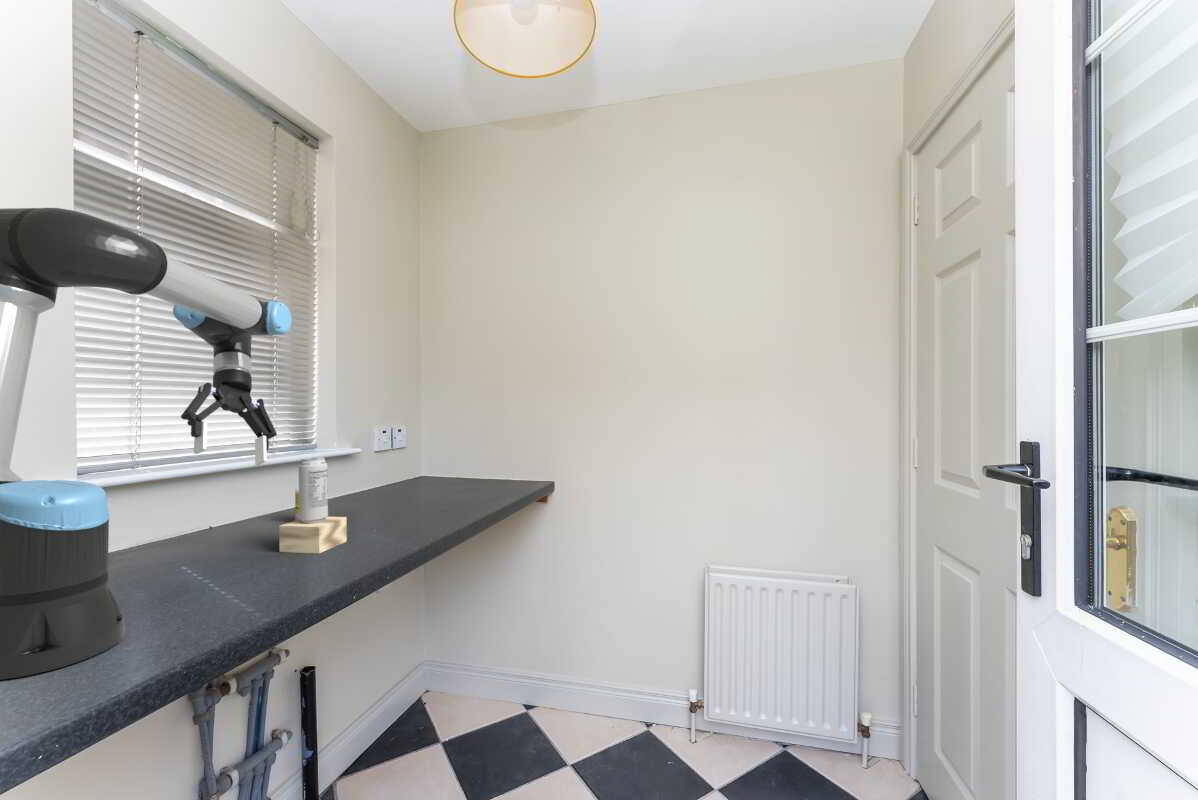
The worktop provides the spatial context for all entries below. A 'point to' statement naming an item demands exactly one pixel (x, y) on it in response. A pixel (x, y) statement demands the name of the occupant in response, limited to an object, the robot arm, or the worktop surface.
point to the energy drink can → (313, 490)
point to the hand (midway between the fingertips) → (232, 457)
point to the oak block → (312, 535)
